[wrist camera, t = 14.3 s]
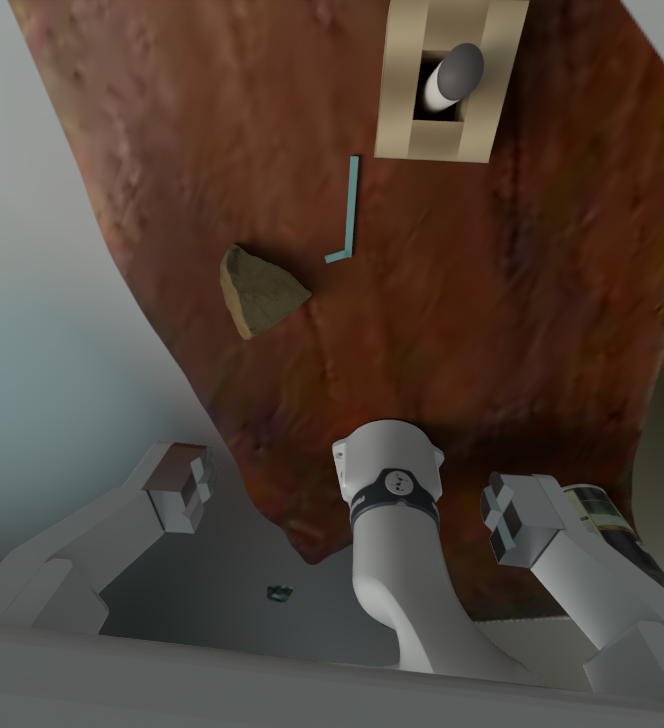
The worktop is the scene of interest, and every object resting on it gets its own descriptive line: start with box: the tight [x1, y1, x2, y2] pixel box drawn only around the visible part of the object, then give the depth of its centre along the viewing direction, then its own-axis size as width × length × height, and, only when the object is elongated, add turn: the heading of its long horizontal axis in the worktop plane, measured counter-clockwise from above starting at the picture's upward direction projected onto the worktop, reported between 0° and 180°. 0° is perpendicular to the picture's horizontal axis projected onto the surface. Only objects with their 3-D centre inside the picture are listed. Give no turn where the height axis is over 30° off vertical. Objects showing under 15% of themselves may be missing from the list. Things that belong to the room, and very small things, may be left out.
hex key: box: [325, 156, 359, 263], centre depth 36 cm, size 11×3×1 cm, turn 178°
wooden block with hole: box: [374, 0, 529, 163], centre depth 28 cm, size 10×10×4 cm
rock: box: [219, 244, 312, 340], centre depth 38 cm, size 11×9×10 cm
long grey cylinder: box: [419, 43, 484, 115], centre depth 26 cm, size 3×3×10 cm
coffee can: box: [561, 484, 664, 588], centre depth 53 cm, size 10×10×14 cm
